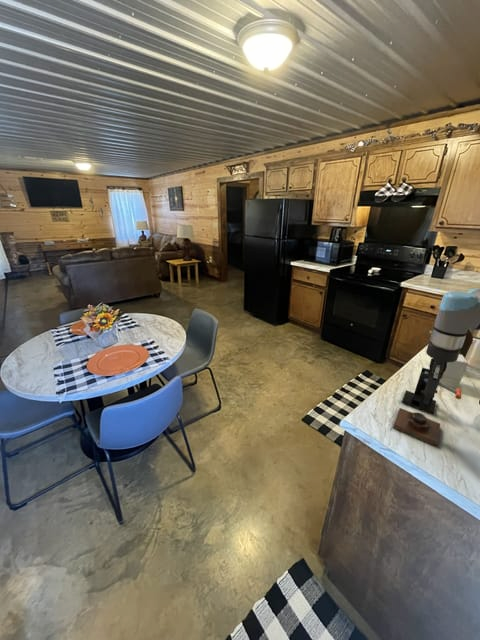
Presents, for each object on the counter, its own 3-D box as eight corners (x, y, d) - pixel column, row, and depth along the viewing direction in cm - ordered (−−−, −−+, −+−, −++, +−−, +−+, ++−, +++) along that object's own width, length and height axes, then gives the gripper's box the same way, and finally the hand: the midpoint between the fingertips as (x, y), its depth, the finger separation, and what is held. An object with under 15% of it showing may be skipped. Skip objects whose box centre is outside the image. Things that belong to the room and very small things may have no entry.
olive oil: (443, 372, 119) (462, 322, 109) (428, 360, 128) (443, 312, 119) (467, 373, 118) (487, 322, 109) (450, 360, 128) (467, 313, 119)
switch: (458, 393, 92) (463, 389, 91) (458, 401, 89) (463, 396, 87) (422, 373, 98) (426, 369, 97) (420, 379, 94) (424, 375, 93)
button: (425, 419, 87) (426, 415, 86) (424, 426, 84) (425, 422, 84) (412, 414, 89) (414, 410, 88) (411, 420, 86) (412, 416, 86)
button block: (438, 427, 88) (441, 419, 87) (436, 446, 81) (439, 437, 80) (398, 411, 95) (400, 403, 94) (392, 427, 88) (395, 419, 86)
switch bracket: (435, 403, 99) (446, 372, 94) (433, 415, 94) (445, 382, 88) (405, 392, 105) (414, 363, 100) (401, 402, 99) (411, 372, 94)
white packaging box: (453, 379, 114) (463, 354, 109) (458, 389, 107) (468, 363, 102) (433, 375, 116) (441, 350, 112) (436, 384, 110) (445, 358, 105)
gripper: (431, 333, 83) (413, 394, 92) (426, 349, 73) (406, 415, 82) (461, 340, 78) (439, 403, 87) (460, 357, 69) (435, 426, 78)
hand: (423, 409), depth 85 cm, fingers closed
